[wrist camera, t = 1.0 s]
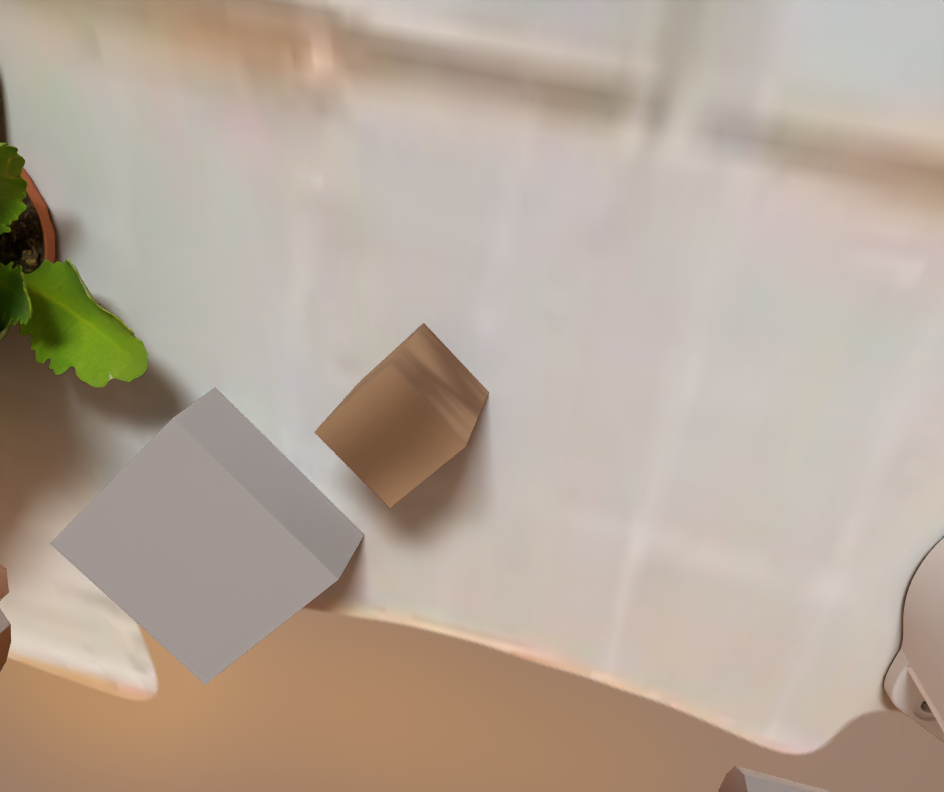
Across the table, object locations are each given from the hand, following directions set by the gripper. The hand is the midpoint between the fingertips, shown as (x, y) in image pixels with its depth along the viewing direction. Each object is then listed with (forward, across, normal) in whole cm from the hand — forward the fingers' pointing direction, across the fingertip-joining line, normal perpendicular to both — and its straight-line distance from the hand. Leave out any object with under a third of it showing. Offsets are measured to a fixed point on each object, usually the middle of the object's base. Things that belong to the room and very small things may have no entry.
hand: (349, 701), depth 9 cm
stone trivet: (+32, +15, +22) cm, 41 cm away
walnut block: (+32, +4, +10) cm, 33 cm away
